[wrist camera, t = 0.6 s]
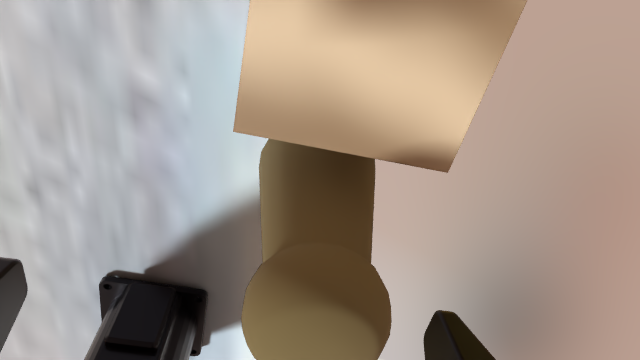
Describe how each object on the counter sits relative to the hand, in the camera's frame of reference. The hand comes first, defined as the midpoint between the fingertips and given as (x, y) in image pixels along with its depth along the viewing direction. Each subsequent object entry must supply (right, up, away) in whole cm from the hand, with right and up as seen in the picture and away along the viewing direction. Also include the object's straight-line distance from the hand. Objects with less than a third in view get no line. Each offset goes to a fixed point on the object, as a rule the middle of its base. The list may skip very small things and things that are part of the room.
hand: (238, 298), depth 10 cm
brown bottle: (+2, +3, +14) cm, 14 cm away
